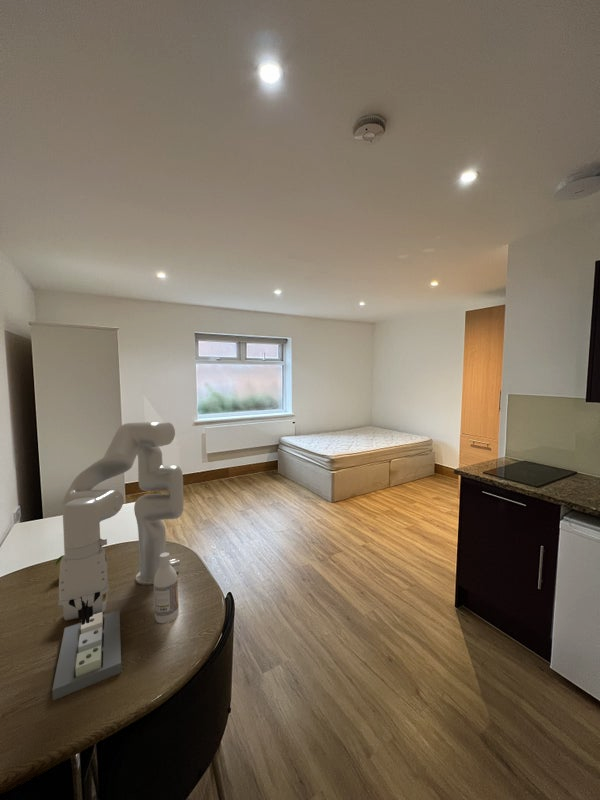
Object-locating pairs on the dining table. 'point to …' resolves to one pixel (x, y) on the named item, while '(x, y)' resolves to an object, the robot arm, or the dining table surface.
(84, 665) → the tile three
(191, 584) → the dining table surface
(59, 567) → the lemon
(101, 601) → the toilet paper
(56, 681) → the board
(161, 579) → the bath foam
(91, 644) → the tile two
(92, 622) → the tile one
